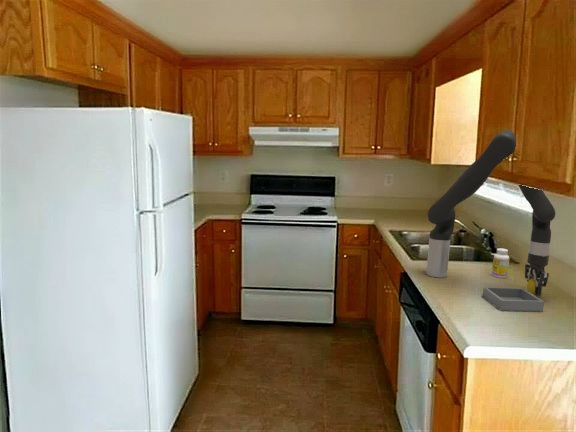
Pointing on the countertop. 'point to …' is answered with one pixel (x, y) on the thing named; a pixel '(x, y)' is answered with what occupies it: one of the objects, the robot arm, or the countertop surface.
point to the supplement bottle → (500, 263)
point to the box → (513, 299)
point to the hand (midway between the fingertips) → (533, 292)
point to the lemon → (531, 286)
